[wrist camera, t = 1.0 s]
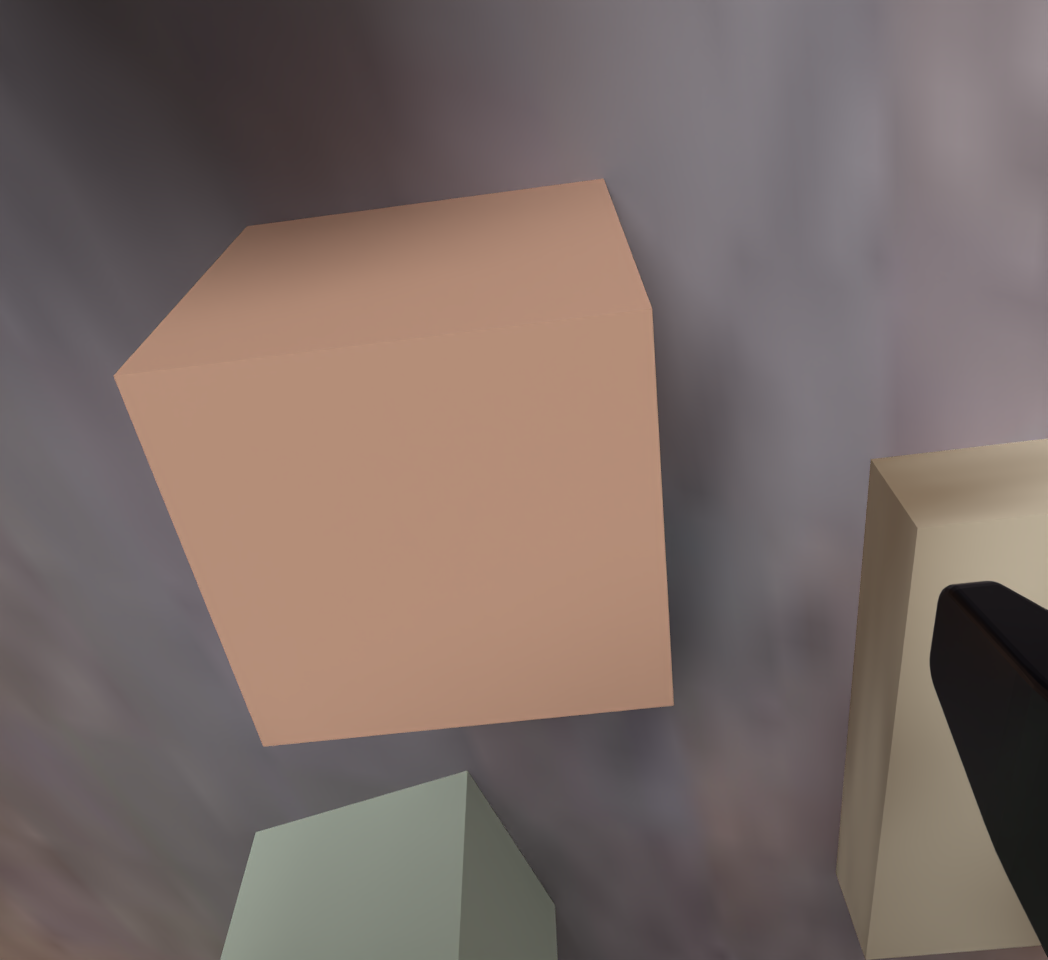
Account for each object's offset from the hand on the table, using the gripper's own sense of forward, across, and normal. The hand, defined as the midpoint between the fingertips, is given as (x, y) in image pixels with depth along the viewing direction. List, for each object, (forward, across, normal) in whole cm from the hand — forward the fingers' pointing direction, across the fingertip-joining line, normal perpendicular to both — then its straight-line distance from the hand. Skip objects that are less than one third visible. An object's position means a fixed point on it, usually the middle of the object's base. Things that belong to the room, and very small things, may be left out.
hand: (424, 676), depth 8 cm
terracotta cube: (+7, 0, 0) cm, 7 cm away
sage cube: (+7, +3, +12) cm, 14 cm away
